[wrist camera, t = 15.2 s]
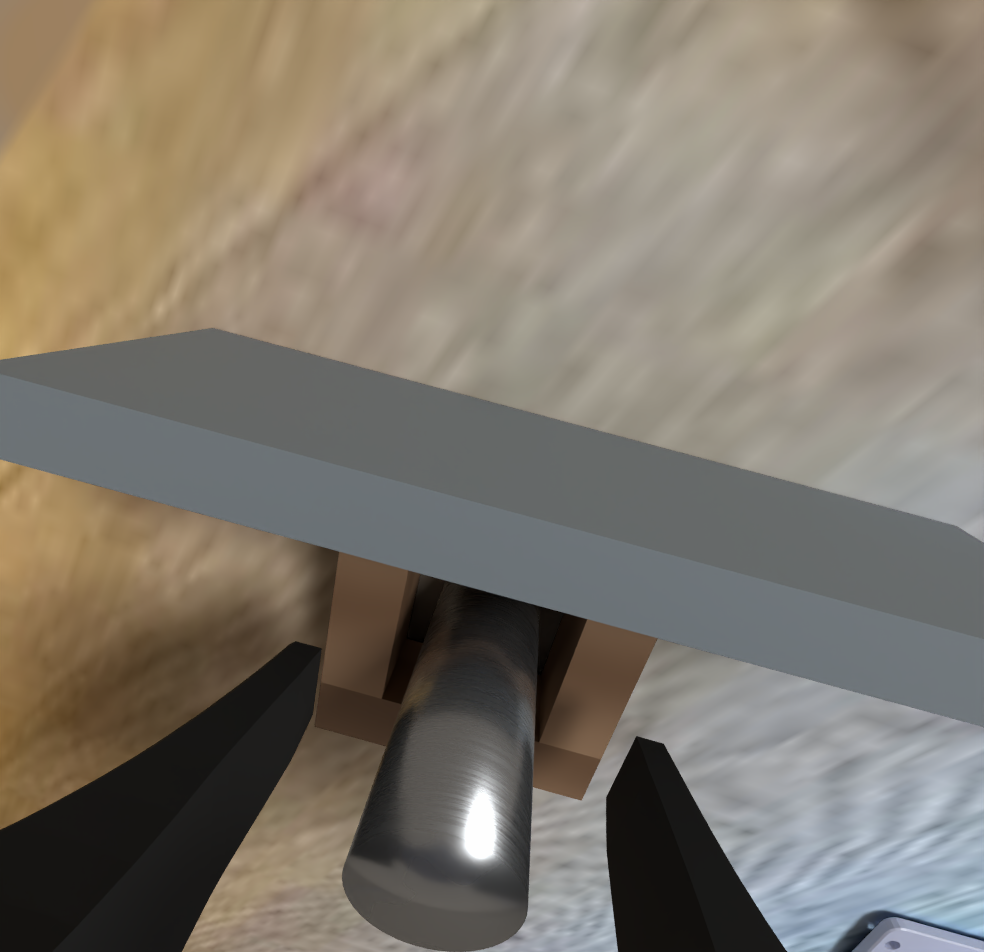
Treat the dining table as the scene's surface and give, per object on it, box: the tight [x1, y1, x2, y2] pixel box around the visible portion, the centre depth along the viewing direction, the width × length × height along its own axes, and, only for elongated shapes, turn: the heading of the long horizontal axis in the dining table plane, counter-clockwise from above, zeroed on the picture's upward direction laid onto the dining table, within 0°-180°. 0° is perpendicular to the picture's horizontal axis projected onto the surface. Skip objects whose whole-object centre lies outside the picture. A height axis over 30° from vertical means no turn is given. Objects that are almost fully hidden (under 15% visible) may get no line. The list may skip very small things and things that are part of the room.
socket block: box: [315, 552, 658, 800], centre depth 14 cm, size 8×8×2 cm
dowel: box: [342, 580, 540, 952], centre depth 12 cm, size 3×3×8 cm
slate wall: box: [0, 328, 984, 727], centre depth 11 cm, size 2×20×6 cm, turn 77°
